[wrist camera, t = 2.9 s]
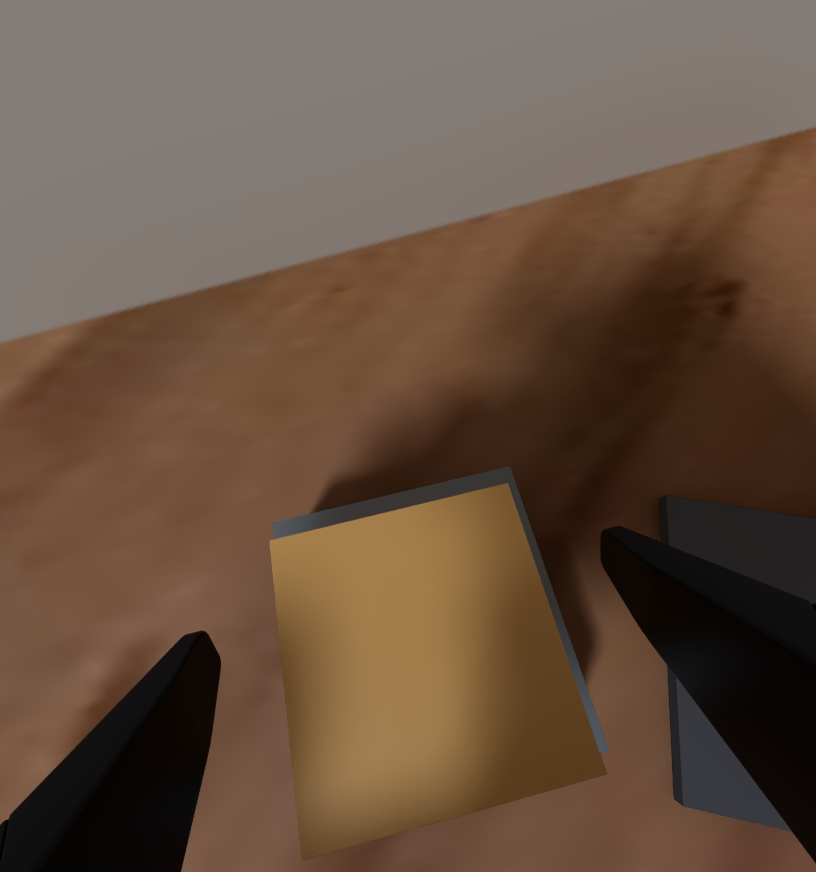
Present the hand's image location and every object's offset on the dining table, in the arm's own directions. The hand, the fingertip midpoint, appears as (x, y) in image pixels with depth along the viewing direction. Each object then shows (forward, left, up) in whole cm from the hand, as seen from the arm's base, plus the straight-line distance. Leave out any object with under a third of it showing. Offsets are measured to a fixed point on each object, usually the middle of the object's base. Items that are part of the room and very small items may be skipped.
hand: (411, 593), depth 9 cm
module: (-1, -1, -7) cm, 7 cm away
